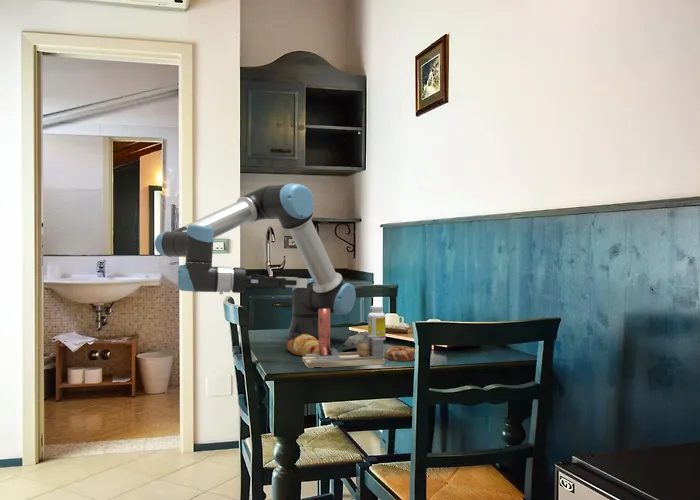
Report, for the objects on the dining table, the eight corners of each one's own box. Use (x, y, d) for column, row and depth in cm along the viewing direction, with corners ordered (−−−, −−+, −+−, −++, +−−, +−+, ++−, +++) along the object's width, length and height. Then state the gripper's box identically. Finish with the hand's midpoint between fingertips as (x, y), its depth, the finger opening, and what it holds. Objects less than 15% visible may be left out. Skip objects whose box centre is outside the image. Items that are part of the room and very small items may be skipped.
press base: (302, 361, 189) (302, 337, 189) (375, 357, 195) (375, 334, 194) (308, 368, 179) (308, 343, 179) (384, 364, 185) (384, 339, 185)
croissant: (332, 368, 196) (341, 345, 198) (312, 357, 189) (321, 334, 192) (293, 357, 211) (301, 336, 213) (272, 347, 205) (281, 325, 207)
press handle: (315, 356, 188) (315, 307, 188) (334, 355, 190) (334, 307, 189) (320, 360, 181) (320, 310, 181) (339, 359, 183) (339, 310, 182)
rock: (351, 354, 200) (351, 335, 200) (336, 351, 207) (336, 332, 207) (382, 350, 208) (382, 331, 207) (367, 347, 214) (367, 329, 214)
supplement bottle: (388, 339, 229) (388, 305, 229) (381, 342, 224) (381, 307, 223) (372, 337, 232) (372, 305, 232) (365, 340, 227) (365, 306, 226)
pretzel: (376, 357, 196) (376, 346, 196) (401, 353, 203) (401, 343, 202) (400, 364, 186) (400, 352, 186) (425, 359, 193) (425, 348, 193)
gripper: (227, 290, 189) (293, 292, 195) (235, 294, 165) (310, 297, 172) (228, 266, 189) (294, 269, 196) (237, 267, 166) (311, 270, 172)
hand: (301, 282), depth 184 cm, fingers open, 13 cm apart
